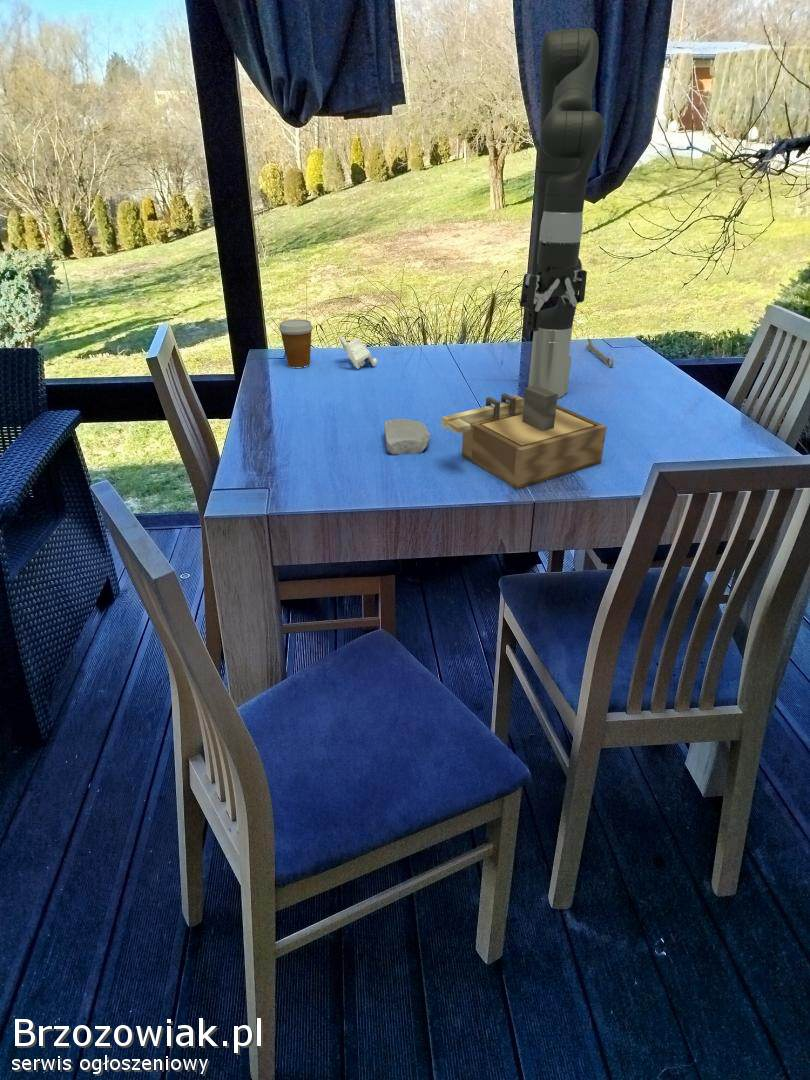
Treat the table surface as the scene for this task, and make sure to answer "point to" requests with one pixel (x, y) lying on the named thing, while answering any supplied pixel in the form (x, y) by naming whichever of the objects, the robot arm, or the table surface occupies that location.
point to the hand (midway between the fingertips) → (549, 328)
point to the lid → (537, 420)
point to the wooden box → (532, 450)
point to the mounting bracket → (357, 352)
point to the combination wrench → (599, 354)
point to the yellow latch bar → (478, 415)
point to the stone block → (405, 436)
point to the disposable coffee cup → (296, 341)
